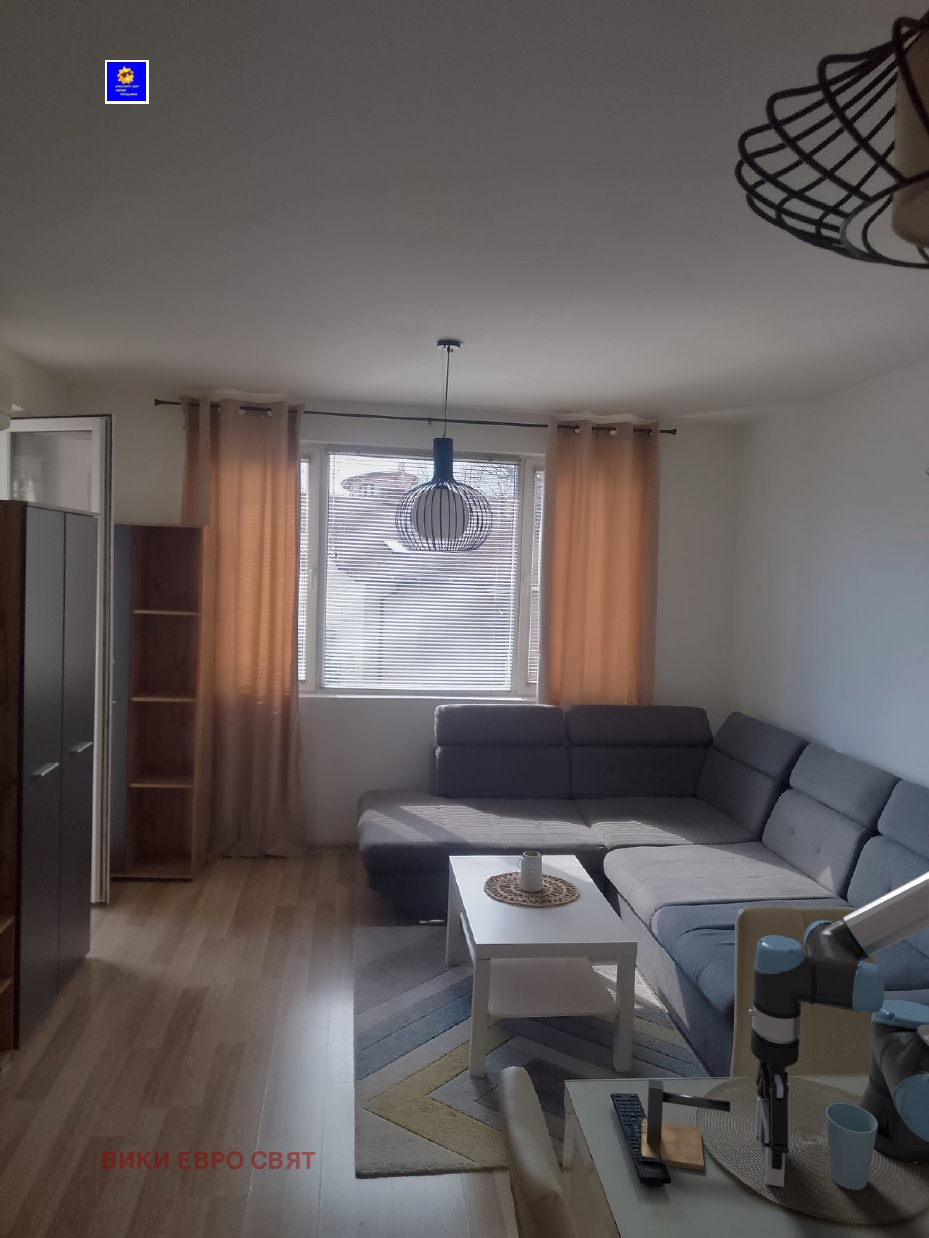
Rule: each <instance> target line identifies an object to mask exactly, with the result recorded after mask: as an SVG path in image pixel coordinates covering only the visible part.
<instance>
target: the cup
mask: <svg viewBox="0 0 929 1238" xmlns="http://www.w3.org/2000/svg"><path fill="white" fill-rule="evenodd" d="M825 1109H826V1110H825V1117H826V1118H825V1119H826V1120H825V1121H826V1130H827V1131H826V1132H827V1149H828V1165H829V1176H830V1178H831V1179H832V1181H833V1180H834V1181H833V1182H834V1183H835V1184H837V1185H838V1184H839V1185H838V1186H839V1187H841V1188H843V1187H845V1188H844V1189H846V1188H847V1189H846V1190H849V1189H857V1190H858V1191H860V1190H859V1189H862V1190H864V1189H865V1188H866V1187H867V1184H868V1180H869V1175H870V1170H871V1164H872V1159H873V1154H874V1149H875V1147H874V1143H875V1138H876V1133H877V1128H878V1123H877V1121H876V1119H875V1118H874V1116H873V1115H871V1114H870V1113H869V1112H868V1111H866V1110H864V1109H862V1108H860V1107H858V1105H854V1104H850V1103H846V1102H845V1103H844V1102H837V1103H836V1102H835V1103H832V1104H830V1105H828V1106H827V1107H826V1108H825ZM865 1186H866V1187H865ZM864 1187H865V1188H864ZM863 1188H864V1189H863Z"/></svg>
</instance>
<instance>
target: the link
mask: <svg viewBox="0 0 929 1238" xmlns="http://www.w3.org/2000/svg"><path fill="white" fill-rule="evenodd" d="M768 1141H769V1130H768V1102H767V1100H764V1099H761V1104H760V1124H759V1136H758V1148H759V1149H758V1150H759V1152H760V1157H761V1158H760V1159H761V1162H762V1164H761V1165H762V1168H763V1173H764V1176H766V1155H767V1147H764V1143H767V1142H768Z"/></svg>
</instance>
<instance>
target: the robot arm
mask: <svg viewBox="0 0 929 1238" xmlns="http://www.w3.org/2000/svg"><path fill="white" fill-rule="evenodd" d="M927 928H929V870H928V871H926V872H923V873H922V874H920V875H918V876H917V877H915V878H913V879H911V880H910V881H907V882H906V883H903V884H902V885H900V886H898V887H896V888H895V889H893V890H891V891H889V892H887V893H885V894H883V895H882V896H879V897H878V898H875V899H874V900H872V901H870V902H868V903H866V904H865V905H863V906H860V907H859V908H857V909H855V910H854V911H852V912H850V913H848V914H846V915H845V916H843V917H841V918H838V919H837V920H835V921H833V920H829V919H820V920H815V921H814V922H812V923H810V925H809V926H808V927H807V928H806V931H804V936H803V937H804V938H803V939H804V940H803V941H804V946H803V945H802V944H801V942H799V941H798V940H796V939H794V938H791V937H786V936H784V935H779V934H777V935H776V934H771V935H766V936H763V937H761V938H760V939H758V941H757V944H756V947H755V957H754V958H755V959H754V963H753V992H752V993H753V994H752V995H753V997H752V1008H753V1009H751V1008H750V1009H749V1010H748V1015H749V1016H751V1019H752V1020H751V1021H752V1022H751V1026H752V1028H751V1034H750V1051H751V1053H752V1055H753V1056H754V1057H755V1058H756V1059H757V1060H758V1064H757V1065H758V1066H757V1074H756V1079H755V1084H756V1086H757V1090H756V1093H757V1096H758V1097H757V1098H756V1120H755V1121H756V1122H755V1136H756V1137H759V1124H760V1104H761V1099H764V1100H767V1102H768V1130H769V1141H768V1142H767V1143H764V1147H767V1155H766V1176H765V1175H764V1176H765V1179H764V1180H765V1182H764V1183H765V1184H766V1185H769V1186H776V1187H781V1188H784V1187H785V1168H786V1167H785V1166H786V1165H785V1164H786V1154H789V1152H790V1149H789V1114H788V1113H789V1105H788V1103H789V1091H790V1090H789V1089H790V1088H789V1085H788V1081H789V1079H788V1078H789V1076H788V1071H786V1068H787V1067H790V1066H793V1065H795V1064H796V1063H797V1062H798V1061H799V1055H800V1054H799V1051H800V1038H799V1037H800V1036H801V1022H802V1021H801V1020H802V1004H807V1005H812V1006H813V1005H814V1006H822V1007H827V1008H833V1009H840V1010H845V1011H852V1012H854V1013H857V1012H865V1013H872V1015H871V1018H870V1021H871V1034H870V1036H871V1037H870V1051H869V1054H870V1055H869V1069H868V1070H869V1074H868V1083H867V1085H866V1087H865V1089H864V1091H863V1093H862V1096H861V1097H860V1100H859V1102H858V1104H857V1106H858V1107H860V1108H862V1109H864V1110H866V1111H868V1112H869V1113H870V1114H871V1115H873V1116H874V1118H875V1119H876V1121H877V1123H878V1128H877V1133H876V1138H875V1143H874V1149H877V1150H878V1151H880V1152H882V1153H884V1154H886V1155H887V1156H890V1157H892V1158H895V1159H896V1160H901V1161H903V1160H907V1161H910V1162H909V1163H911V1162H917V1163H925V1164H924V1165H929V1006H927V1005H924V1004H921V1003H917V1002H913V1001H908V1000H901V999H887V1000H886V999H885V986H884V985H885V984H884V983H885V982H884V978H883V977H884V976H883V973H882V970H881V968H880V966H878V965H877V964H875V963H871V962H866V960H867V959H869V958H871V957H872V956H874V955H877V954H878V953H880V952H882V951H884V950H886V949H887V948H890V947H892V946H894V945H896V944H898V943H899V942H902V941H904V940H905V939H908V938H910V937H911V936H913V935H915V934H917V933H919V932H922V931H923V930H925V929H927ZM804 948H805V949H804ZM805 952H806V954H805ZM884 999H885V1000H884ZM907 1161H906V1162H907ZM917 1163H916V1164H917ZM926 1163H927V1164H926Z"/></svg>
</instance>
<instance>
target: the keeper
mask: <svg viewBox="0 0 929 1238" xmlns="http://www.w3.org/2000/svg"><path fill="white" fill-rule="evenodd" d="M647 1089H648V1090H647V1110H646V1111H647V1112H646V1113H647V1114H646V1118H644V1117H643V1118H644V1120H643V1121H642V1120H641V1153H642V1156H643V1157H646V1158H655V1159H660V1158H659V1156H660V1154H661V1157H662V1160H663V1161H664V1163H665V1165H664V1166H668V1167H674V1168H681V1169H688V1170H693V1171H699V1172H704V1171H705V1161H704V1155H703V1154H704V1153H703V1144H702V1143H703V1142H702V1132H701V1127H700V1126H696V1125H690V1124H689V1125H688V1124H683V1123H675V1122H669V1121H665V1120H664V1121H663V1107H664V1106H663V1105H664V1104H663V1103H666V1104H673V1105H680V1106H687V1107H692V1108H693V1107H694V1108H699V1109H706V1110H714V1111H721V1112H727V1113H730V1112H731V1101H730V1100H724V1099H715V1098H709V1097H703V1096H696V1095H689V1094H682V1093H675V1092H669V1091H664V1081H662V1080H658V1079H657V1080H656V1079H648V1088H647ZM642 1122H643V1123H642ZM644 1122H645V1123H644ZM642 1126H643V1128H642ZM645 1126H646V1127H645ZM642 1129H643V1130H642ZM642 1132H644V1133H642ZM645 1133H646V1134H645ZM655 1146H656V1147H655ZM659 1153H660V1154H659Z"/></svg>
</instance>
